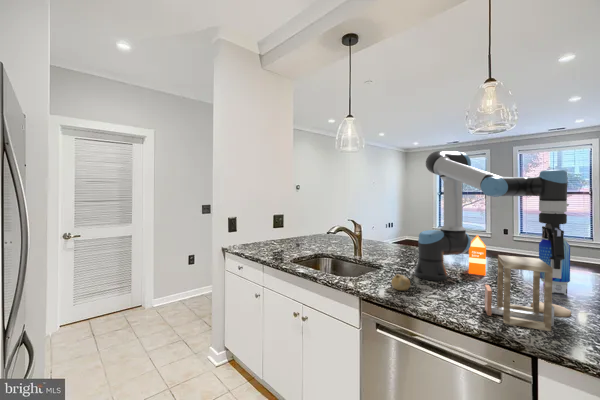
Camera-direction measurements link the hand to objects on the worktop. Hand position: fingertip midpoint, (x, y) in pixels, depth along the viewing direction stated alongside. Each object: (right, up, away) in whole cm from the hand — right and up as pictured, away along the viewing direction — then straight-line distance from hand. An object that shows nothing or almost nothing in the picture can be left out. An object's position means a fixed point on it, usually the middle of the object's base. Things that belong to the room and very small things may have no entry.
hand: (551, 274), depth 102 cm
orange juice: (+3, -12, +48) cm, 50 cm away
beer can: (+1, -3, 0) cm, 3 cm away
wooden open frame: (-16, -14, -6) cm, 22 cm away
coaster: (0, -13, 0) cm, 13 cm away
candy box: (+21, -13, +22) cm, 33 cm away
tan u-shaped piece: (-17, -13, -5) cm, 22 cm away
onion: (-47, -13, +23) cm, 54 cm away
